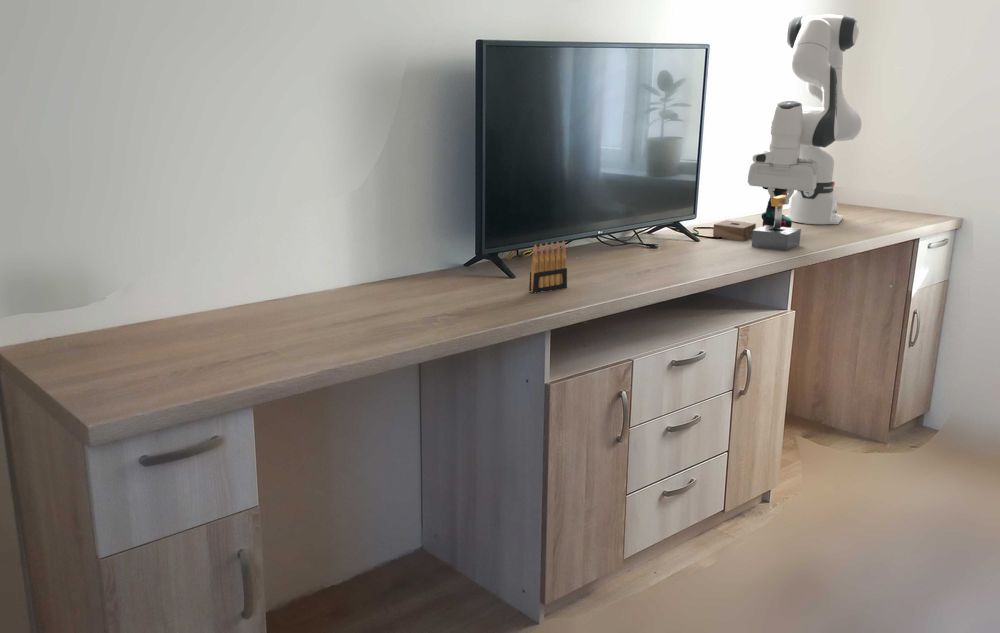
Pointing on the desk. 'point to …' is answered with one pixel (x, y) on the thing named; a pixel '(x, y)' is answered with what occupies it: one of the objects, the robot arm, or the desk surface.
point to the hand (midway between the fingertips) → (779, 203)
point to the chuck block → (776, 238)
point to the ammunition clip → (548, 268)
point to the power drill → (770, 211)
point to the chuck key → (778, 209)
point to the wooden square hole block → (734, 230)
